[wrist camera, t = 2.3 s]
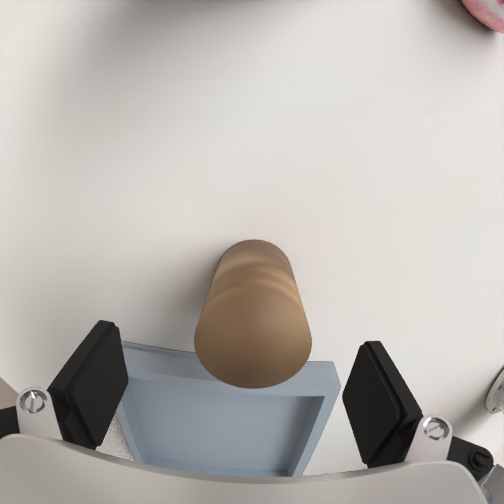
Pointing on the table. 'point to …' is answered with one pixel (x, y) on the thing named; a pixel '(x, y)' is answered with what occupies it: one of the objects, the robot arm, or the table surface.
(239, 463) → the tray
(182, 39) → the table surface
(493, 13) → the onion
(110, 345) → the robot arm
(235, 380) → the brown rounded cylinder
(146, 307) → the table surface
